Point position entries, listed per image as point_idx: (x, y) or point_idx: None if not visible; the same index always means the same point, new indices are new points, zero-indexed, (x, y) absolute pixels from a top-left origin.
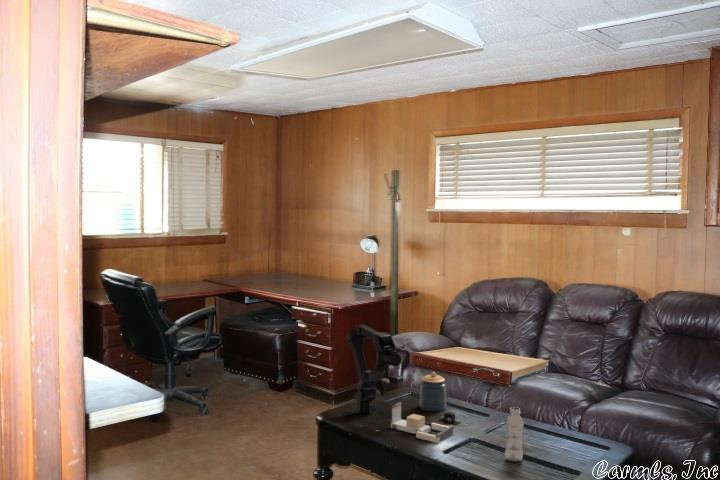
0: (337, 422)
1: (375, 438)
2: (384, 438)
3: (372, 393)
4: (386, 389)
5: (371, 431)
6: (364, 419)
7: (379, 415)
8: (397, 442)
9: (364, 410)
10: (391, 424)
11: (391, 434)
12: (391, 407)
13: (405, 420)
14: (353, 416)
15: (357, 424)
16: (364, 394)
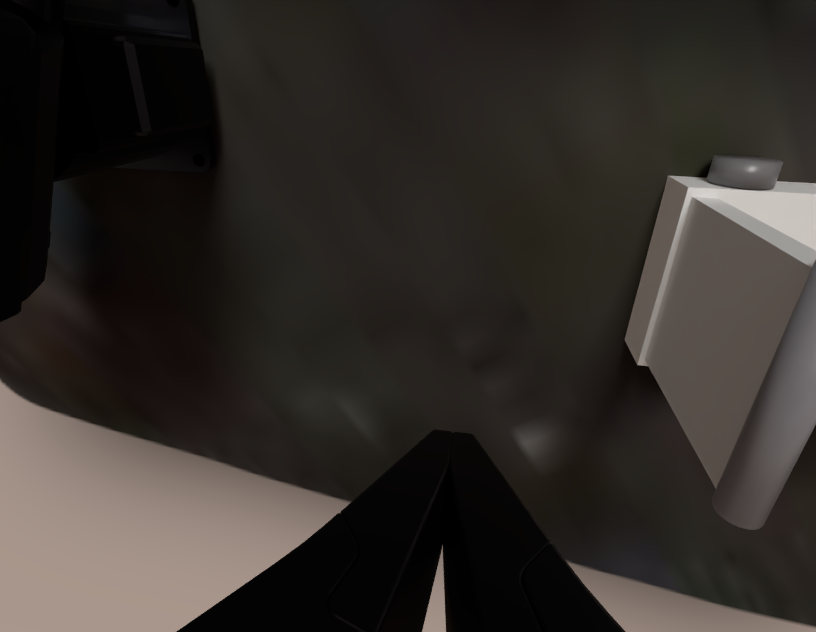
0: (176, 437)
1: (598, 570)
2: (664, 551)
3: (29, 140)
4: (539, 537)
5: None
6: (279, 273)
7: (317, 52)
8: (795, 577)
9: (149, 154)
10: (640, 359)
11: (692, 472)
12: (711, 500)
13: (794, 195)
14: (147, 256)
15: (318, 407)
16: (15, 314)
